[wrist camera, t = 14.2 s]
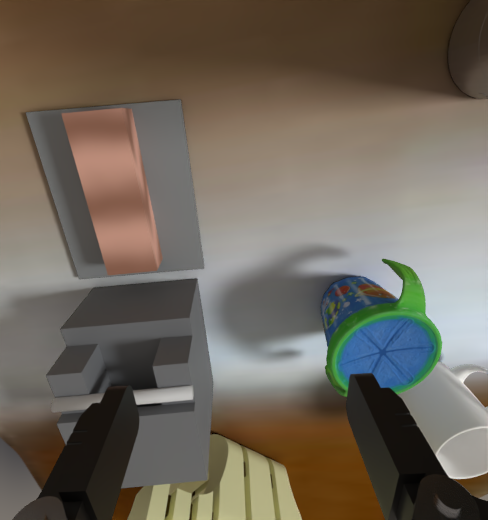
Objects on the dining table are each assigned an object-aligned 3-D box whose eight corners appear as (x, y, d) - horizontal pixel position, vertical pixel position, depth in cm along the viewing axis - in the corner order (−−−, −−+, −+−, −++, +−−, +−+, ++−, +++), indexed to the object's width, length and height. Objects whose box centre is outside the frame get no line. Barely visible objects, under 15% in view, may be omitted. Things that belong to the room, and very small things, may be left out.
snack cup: (352, 361, 43) (386, 427, 34) (282, 337, 41) (298, 401, 32) (422, 263, 38) (485, 310, 28) (345, 229, 35) (386, 269, 26)
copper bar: (77, 114, 29) (61, 113, 26) (131, 108, 29) (121, 107, 26) (117, 263, 35) (107, 275, 32) (162, 259, 35) (157, 270, 32)
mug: (483, 364, 44) (555, 433, 34) (412, 412, 47) (460, 488, 38) (449, 330, 42) (516, 395, 32) (376, 384, 45) (418, 458, 35)
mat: (29, 112, 29) (25, 112, 29) (180, 99, 30) (180, 99, 29) (81, 276, 36) (79, 279, 36) (204, 266, 36) (203, 268, 36)
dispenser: (93, 287, 37) (30, 365, 25) (197, 278, 37) (182, 351, 25) (125, 391, 43) (86, 491, 32) (213, 383, 43) (207, 480, 32)
